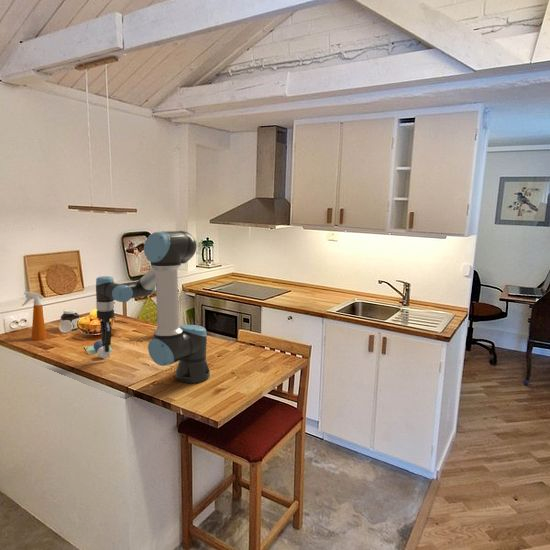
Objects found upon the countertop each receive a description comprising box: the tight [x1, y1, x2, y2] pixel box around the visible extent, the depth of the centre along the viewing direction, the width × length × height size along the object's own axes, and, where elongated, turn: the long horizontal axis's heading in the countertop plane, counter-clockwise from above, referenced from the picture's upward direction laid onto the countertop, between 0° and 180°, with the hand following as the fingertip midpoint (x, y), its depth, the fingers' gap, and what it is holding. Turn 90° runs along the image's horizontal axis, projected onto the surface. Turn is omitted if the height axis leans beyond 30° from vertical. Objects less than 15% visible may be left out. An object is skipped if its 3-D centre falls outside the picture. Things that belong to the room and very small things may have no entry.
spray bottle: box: [21, 291, 47, 341], centre depth 220 cm, size 7×11×26 cm, turn 123°
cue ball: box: [96, 347, 104, 359], centre depth 200 cm, size 6×6×6 cm
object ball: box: [93, 340, 103, 351], centre depth 208 cm, size 6×6×6 cm
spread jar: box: [58, 308, 81, 334], centre depth 238 cm, size 12×11×12 cm
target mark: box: [84, 345, 114, 355], centre depth 211 cm, size 12×12×1 cm
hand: (106, 357), depth 195 cm, fingers closed
